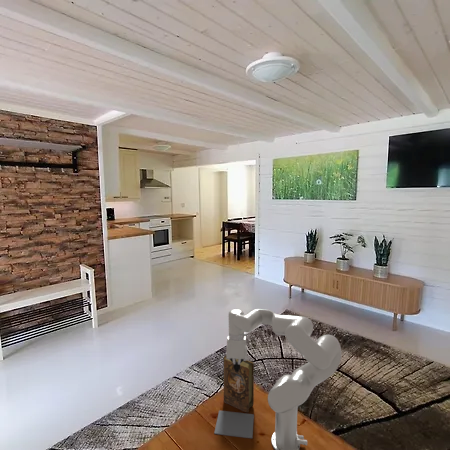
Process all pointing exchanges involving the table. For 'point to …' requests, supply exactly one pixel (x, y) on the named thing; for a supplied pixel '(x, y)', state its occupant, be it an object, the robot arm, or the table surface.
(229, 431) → the mat
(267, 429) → the table surface
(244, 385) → the book
